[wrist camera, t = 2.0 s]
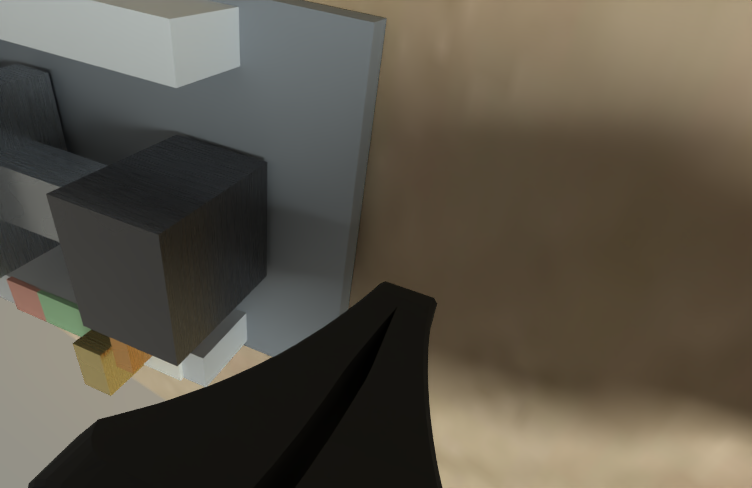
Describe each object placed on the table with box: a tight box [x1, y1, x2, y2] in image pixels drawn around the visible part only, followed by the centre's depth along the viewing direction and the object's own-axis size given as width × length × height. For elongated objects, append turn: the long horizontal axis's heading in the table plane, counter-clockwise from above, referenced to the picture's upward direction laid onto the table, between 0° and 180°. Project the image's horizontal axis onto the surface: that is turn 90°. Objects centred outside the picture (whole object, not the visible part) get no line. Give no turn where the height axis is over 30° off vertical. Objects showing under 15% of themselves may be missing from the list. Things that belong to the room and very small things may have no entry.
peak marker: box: [73, 329, 144, 396], centre depth 15 cm, size 1×2×1 cm, turn 172°
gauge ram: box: [0, 64, 267, 374], centre depth 14 cm, size 9×7×4 cm
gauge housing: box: [0, 0, 387, 387], centre depth 15 cm, size 15×12×3 cm
